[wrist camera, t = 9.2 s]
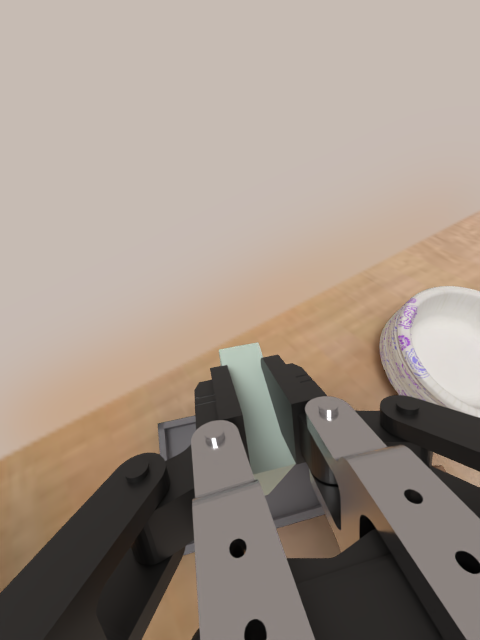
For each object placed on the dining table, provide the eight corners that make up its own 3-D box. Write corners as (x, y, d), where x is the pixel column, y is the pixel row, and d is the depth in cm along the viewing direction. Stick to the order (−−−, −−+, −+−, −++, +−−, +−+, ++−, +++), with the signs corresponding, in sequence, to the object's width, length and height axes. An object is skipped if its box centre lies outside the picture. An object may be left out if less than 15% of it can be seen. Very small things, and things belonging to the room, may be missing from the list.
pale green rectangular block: (241, 501, 18) (244, 476, 9) (227, 424, 21) (218, 349, 12) (268, 494, 18) (295, 463, 9) (250, 419, 21) (258, 342, 12)
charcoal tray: (171, 554, 24) (167, 559, 23) (161, 425, 29) (157, 423, 28) (327, 509, 26) (333, 511, 25) (293, 396, 31) (296, 393, 30)
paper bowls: (347, 327, 36) (376, 293, 29) (447, 309, 38) (497, 274, 31) (402, 451, 29) (458, 447, 22) (521, 422, 31) (606, 409, 24)
